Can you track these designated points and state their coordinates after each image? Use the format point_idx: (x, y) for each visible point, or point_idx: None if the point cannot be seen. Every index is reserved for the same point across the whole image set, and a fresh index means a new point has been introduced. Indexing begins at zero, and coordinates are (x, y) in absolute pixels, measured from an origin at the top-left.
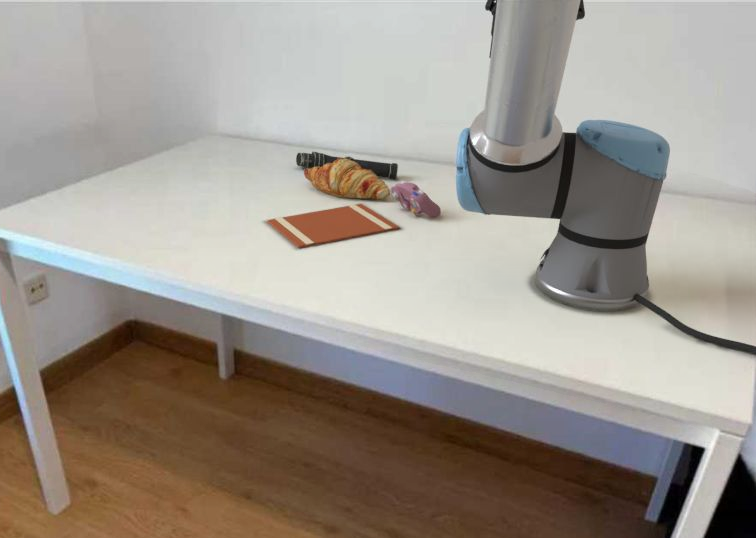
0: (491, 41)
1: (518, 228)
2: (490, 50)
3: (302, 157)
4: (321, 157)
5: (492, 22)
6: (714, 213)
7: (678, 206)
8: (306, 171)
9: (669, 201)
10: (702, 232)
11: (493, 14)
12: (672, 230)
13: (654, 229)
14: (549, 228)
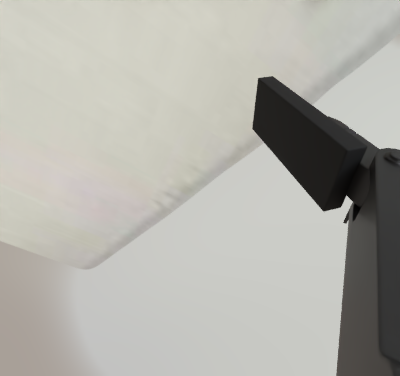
0: (300, 97)
1: (48, 11)
2: (282, 85)
3: None
4: None
5: (367, 141)
6: (64, 241)
7: (91, 226)
8: None
9: (107, 226)
10: (7, 210)
11: (386, 152)
12: (16, 190)
13: (21, 176)
14: (41, 60)
